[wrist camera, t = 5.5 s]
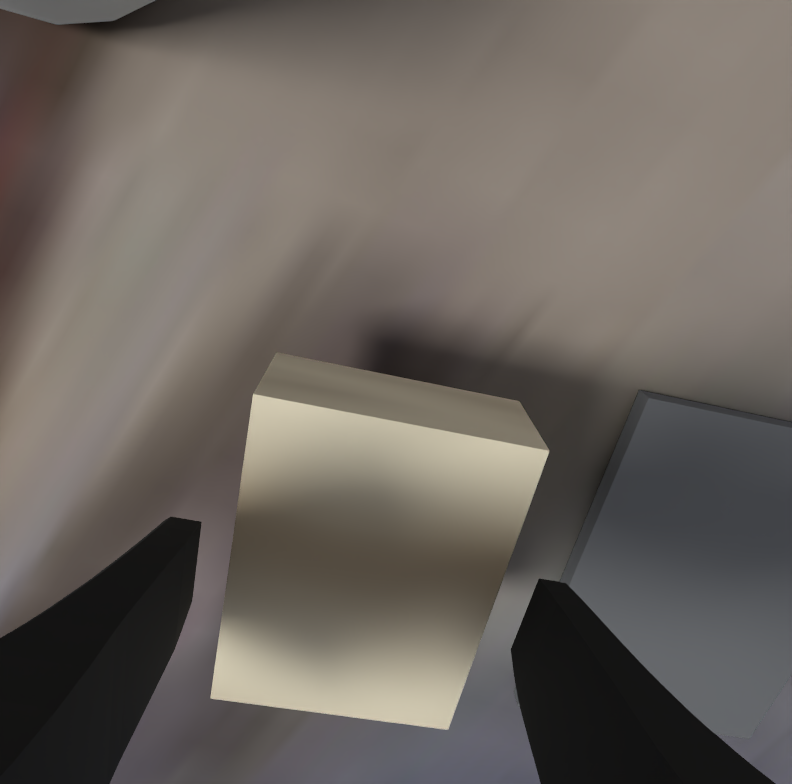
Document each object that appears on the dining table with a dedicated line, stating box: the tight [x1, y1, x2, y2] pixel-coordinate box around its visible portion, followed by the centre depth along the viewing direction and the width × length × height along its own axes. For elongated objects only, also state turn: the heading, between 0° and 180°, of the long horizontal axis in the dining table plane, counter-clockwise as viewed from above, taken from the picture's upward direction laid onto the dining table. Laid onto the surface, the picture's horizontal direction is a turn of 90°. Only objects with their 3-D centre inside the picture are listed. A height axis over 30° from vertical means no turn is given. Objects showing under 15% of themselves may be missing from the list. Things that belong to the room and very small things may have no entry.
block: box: [211, 352, 549, 730], centre depth 12 cm, size 8×6×2 cm
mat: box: [514, 390, 792, 739], centre depth 18 cm, size 12×9×1 cm
